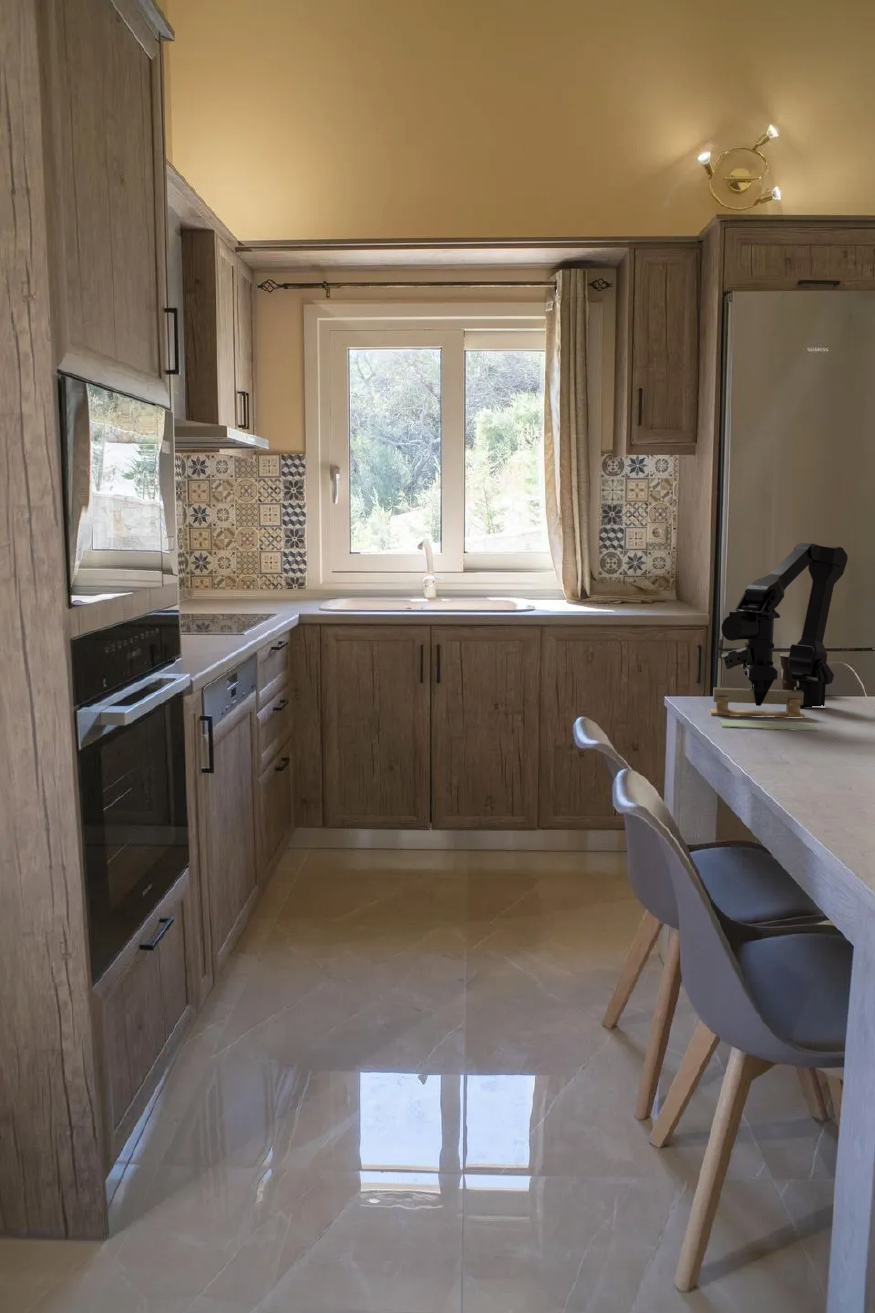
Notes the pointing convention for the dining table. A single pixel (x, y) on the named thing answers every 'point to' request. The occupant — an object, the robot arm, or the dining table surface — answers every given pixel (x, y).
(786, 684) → the coffee mug
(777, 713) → the rack
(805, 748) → the dining table surface
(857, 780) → the dining table surface
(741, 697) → the rail
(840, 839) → the dining table surface
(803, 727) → the mat
